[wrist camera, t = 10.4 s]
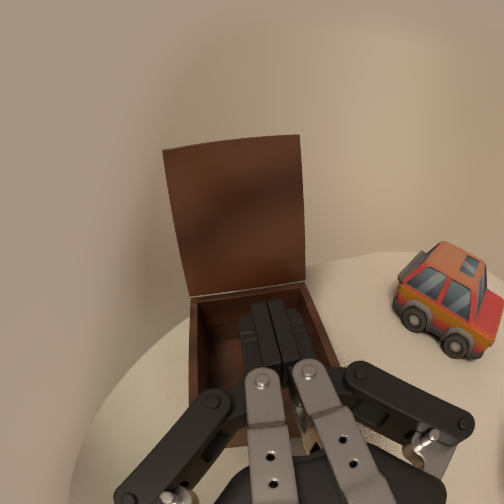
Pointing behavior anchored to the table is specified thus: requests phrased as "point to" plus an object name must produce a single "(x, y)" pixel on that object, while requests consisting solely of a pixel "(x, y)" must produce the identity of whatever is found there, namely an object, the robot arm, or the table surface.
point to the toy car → (450, 300)
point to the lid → (238, 212)
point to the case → (229, 345)
